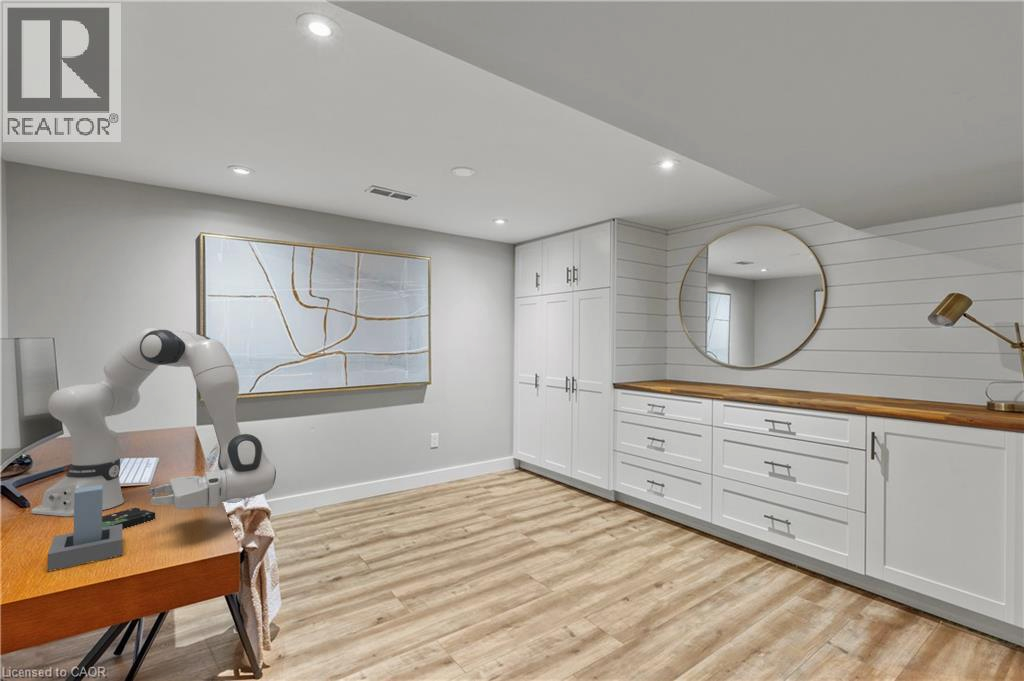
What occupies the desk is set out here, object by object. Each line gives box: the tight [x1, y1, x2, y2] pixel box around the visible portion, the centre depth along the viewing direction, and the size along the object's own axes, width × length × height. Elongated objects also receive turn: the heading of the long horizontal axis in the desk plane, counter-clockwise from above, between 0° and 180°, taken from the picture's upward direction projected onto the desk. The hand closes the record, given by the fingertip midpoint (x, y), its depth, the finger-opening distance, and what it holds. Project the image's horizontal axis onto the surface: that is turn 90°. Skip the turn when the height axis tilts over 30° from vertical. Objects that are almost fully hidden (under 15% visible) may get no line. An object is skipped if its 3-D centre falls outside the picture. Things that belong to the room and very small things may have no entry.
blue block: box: [73, 485, 103, 546], centre depth 115 cm, size 5×5×16 cm
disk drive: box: [102, 507, 156, 530], centre depth 134 cm, size 10×3×15 cm
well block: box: [46, 524, 124, 572], centre depth 115 cm, size 13×13×4 cm
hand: (149, 496), depth 123 cm, fingers open, 8 cm apart
